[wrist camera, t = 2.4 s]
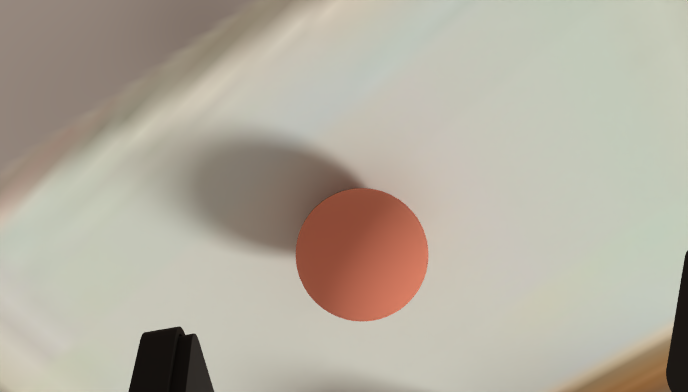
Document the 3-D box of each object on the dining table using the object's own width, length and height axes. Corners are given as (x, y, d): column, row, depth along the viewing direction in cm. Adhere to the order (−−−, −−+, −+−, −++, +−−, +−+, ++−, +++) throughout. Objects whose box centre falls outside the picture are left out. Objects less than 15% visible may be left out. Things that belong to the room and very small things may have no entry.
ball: (283, 177, 31) (288, 246, 26) (408, 156, 31) (439, 221, 26) (302, 279, 34) (310, 360, 29) (416, 260, 34) (445, 336, 29)
